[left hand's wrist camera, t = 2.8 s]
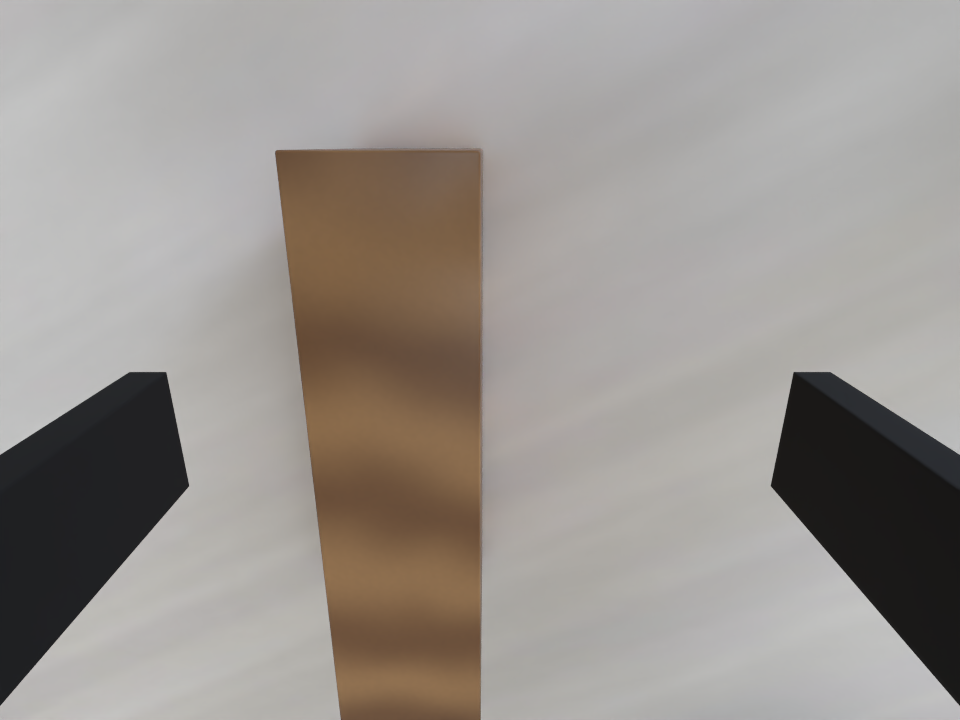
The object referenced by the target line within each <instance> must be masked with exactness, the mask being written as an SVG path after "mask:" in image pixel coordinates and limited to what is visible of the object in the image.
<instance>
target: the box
mask: <svg viewBox="0 0 960 720" xmlns="http://www.w3.org/2000/svg"><path fill="white" fill-rule="evenodd" d="M275 155H276V164H277V172H278V181H279V190H280V198H281V207H282V216H283V224H284V233H285V241H286V250H287V259H288V267H289V276H290V284H291V293H292V302H293V310H294V319H295V328H296V336H297V345H298V353H299V362H300V371H301V379H302V388H303V397H304V405H305V414H306V422H307V431H308V440H309V448H310V457H311V465H312V474H313V483H314V491H315V500H316V509H317V517H318V526H319V534H320V543H321V552H322V560H323V569H324V578H325V586H326V595H327V603H328V612H329V621H330V629H331V638H332V646H333V655H334V664H335V672H336V681H337V690H338V698H339V707H340V715H341V720H481V612H482V248H483V150H482V149H315V150H277V151H276V152H275Z"/></svg>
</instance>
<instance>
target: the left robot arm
mask: <svg viewBox="0 0 960 720" xmlns="http://www.w3.org/2000/svg"><path fill="white" fill-rule="evenodd" d="M188 487H189V483H188V478H187V473H186V468H185V463H184V458H183V453H182V448H181V443H180V438H179V433H178V428H177V423H176V418H175V413H174V408H173V403H172V398H171V394H170V389H169V384H168V379H167V374H166V372H129V373H128V374H126V375H124V376H123V377H121V378H120V379H118V380H117V381H115V382H114V383H112V384H110V385H109V386H107V387H106V388H104V389H103V390H101V391H99V392H98V393H96V394H95V395H93V396H92V397H90V398H89V399H87V400H85V401H84V402H82V403H81V404H79V405H78V406H76V407H74V408H73V409H71V410H70V411H68V412H67V413H65V414H64V415H62V416H60V417H59V418H57V419H56V420H54V421H53V422H51V423H49V424H48V425H46V426H45V427H43V428H42V429H40V430H39V431H37V432H35V433H34V434H32V435H31V436H29V437H28V438H26V439H24V440H23V441H21V442H20V443H18V444H17V445H15V446H14V447H12V448H10V449H9V450H7V451H6V452H4V453H3V454H1V455H0V705H1V704H2V703H3V702H4V701H5V699H6V698H7V697H8V696H9V695H10V694H11V693H12V691H13V690H14V689H15V688H16V687H17V686H18V684H19V683H20V682H21V681H22V680H23V679H24V677H25V676H26V675H27V674H28V673H29V672H30V670H31V669H32V668H33V667H34V666H35V665H36V663H37V662H38V661H39V660H40V659H41V658H42V656H43V655H44V654H45V653H46V652H47V651H48V650H49V648H50V647H51V646H52V645H53V644H54V643H55V641H56V640H57V639H58V638H59V637H60V636H61V634H62V633H63V632H64V631H65V630H66V629H67V627H68V626H69V625H70V624H71V623H72V622H73V620H74V619H75V618H76V617H77V616H78V615H79V613H80V612H81V611H82V610H83V609H84V608H85V607H86V605H87V604H88V603H89V602H90V601H91V600H92V598H93V597H94V596H95V595H96V594H97V593H98V591H99V590H100V589H101V588H102V587H103V586H104V584H105V583H106V582H107V581H108V580H109V579H110V577H111V576H112V575H113V574H114V573H115V572H116V570H117V569H118V568H119V567H120V566H121V565H122V563H123V562H124V561H125V560H126V559H127V558H128V557H129V555H130V554H131V553H132V552H133V551H134V550H135V548H136V547H137V546H138V545H139V544H140V543H141V541H142V540H143V539H144V538H145V537H146V536H147V534H148V533H149V532H150V531H151V530H152V529H153V527H154V526H155V525H156V524H157V523H158V522H159V520H160V519H161V518H162V517H163V516H164V515H165V514H166V512H167V511H168V510H169V509H170V508H171V507H172V505H173V504H174V503H175V502H176V501H177V500H178V498H179V497H180V496H181V495H182V494H183V493H184V491H185V490H186V489H187V488H188ZM771 487H772V488H773V489H774V490H775V491H776V493H777V494H778V495H779V496H780V497H781V498H782V500H783V501H784V502H785V503H786V504H787V505H788V507H789V508H790V509H791V510H792V511H793V512H794V514H795V515H796V516H797V517H798V518H799V519H800V520H801V522H802V523H803V524H804V525H805V526H806V527H807V529H808V530H809V531H810V532H811V533H812V534H813V536H814V537H815V538H816V539H817V540H818V541H819V543H820V544H821V545H822V546H823V547H824V548H825V550H826V551H827V552H828V553H829V554H830V555H831V557H832V558H833V559H834V560H835V561H836V562H837V564H838V565H839V566H840V567H841V568H842V569H843V570H844V572H845V573H846V574H847V575H848V576H849V577H850V579H851V580H852V581H853V582H854V583H855V584H856V586H857V587H858V588H859V589H860V590H861V591H862V593H863V594H864V595H865V596H866V597H867V598H868V600H869V601H870V602H871V603H872V604H873V605H874V607H875V608H876V609H877V610H878V611H879V612H880V613H881V615H882V616H883V617H884V618H885V619H886V620H887V622H888V623H889V624H890V625H891V626H892V627H893V629H894V630H895V631H896V632H897V633H898V634H899V636H900V637H901V638H902V639H903V640H904V641H905V643H906V644H907V645H908V646H909V647H910V648H911V650H912V651H913V652H914V653H915V654H916V655H917V656H918V658H919V659H920V660H921V661H922V662H923V663H924V665H925V666H926V667H927V668H928V669H929V670H930V672H931V673H932V674H933V675H934V676H935V677H936V679H937V680H938V681H939V682H940V683H941V684H942V686H943V687H944V688H945V689H946V690H947V691H948V693H949V694H950V695H951V696H952V697H953V698H954V699H955V701H956V702H957V703H958V704H959V705H960V455H959V454H957V453H956V452H954V451H953V450H951V449H950V448H948V447H946V446H945V445H943V444H942V443H940V442H939V441H937V440H936V439H934V438H932V437H931V436H929V435H928V434H926V433H925V432H923V431H921V430H920V429H918V428H917V427H915V426H914V425H912V424H911V423H909V422H907V421H906V420H904V419H903V418H901V417H900V416H898V415H896V414H895V413H893V412H892V411H890V410H889V409H887V408H886V407H884V406H882V405H881V404H879V403H878V402H876V401H875V400H873V399H871V398H870V397H868V396H867V395H865V394H864V393H862V392H861V391H859V390H857V389H856V388H854V387H853V386H851V385H850V384H848V383H846V382H845V381H843V380H842V379H840V378H839V377H837V376H836V375H834V374H832V373H831V372H794V374H793V379H792V384H791V389H790V394H789V398H788V403H787V408H786V413H785V418H784V423H783V428H782V433H781V438H780V443H779V448H778V453H777V458H776V463H775V468H774V473H773V478H772V483H771Z"/></svg>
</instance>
